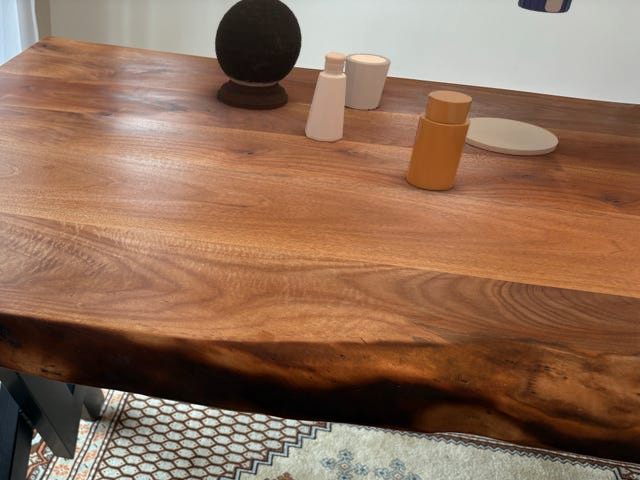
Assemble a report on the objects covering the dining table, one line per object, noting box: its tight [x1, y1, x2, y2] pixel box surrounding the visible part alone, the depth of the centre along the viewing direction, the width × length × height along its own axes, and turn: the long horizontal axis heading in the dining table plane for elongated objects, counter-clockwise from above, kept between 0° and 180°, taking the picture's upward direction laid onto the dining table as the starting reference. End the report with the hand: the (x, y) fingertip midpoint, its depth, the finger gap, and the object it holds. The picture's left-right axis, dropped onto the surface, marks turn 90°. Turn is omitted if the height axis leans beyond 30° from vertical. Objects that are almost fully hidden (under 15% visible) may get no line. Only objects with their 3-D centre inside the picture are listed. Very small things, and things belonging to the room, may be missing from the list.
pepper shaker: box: [304, 52, 347, 143], centre depth 106 cm, size 5×5×11 cm
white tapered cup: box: [344, 53, 392, 111], centre depth 120 cm, size 7×7×7 cm
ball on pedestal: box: [214, 0, 303, 111], centre depth 118 cm, size 13×13×15 cm
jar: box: [405, 90, 473, 191], centre depth 93 cm, size 6×6×10 cm
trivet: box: [465, 117, 559, 156], centre depth 111 cm, size 14×14×1 cm
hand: (543, 5), depth 101 cm, fingers closed on lid, 6 cm apart
